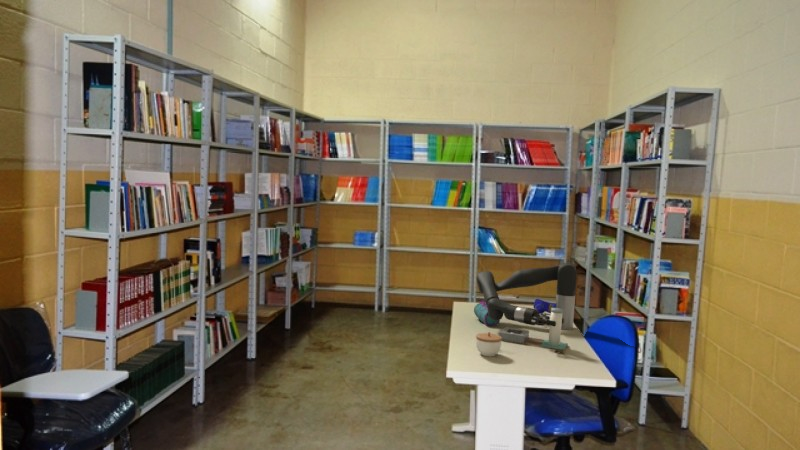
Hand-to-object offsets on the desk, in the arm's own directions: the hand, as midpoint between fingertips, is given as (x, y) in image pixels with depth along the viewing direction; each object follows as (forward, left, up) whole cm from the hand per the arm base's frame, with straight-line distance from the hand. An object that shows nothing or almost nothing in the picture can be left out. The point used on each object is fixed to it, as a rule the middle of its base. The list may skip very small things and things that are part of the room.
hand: (559, 322), depth 253 cm
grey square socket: (0, -20, -11) cm, 23 cm away
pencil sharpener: (-46, -14, -12) cm, 50 cm away
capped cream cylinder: (0, -2, -10) cm, 11 cm away
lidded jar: (+26, -25, -12) cm, 38 cm away
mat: (0, -2, -11) cm, 11 cm away
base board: (0, -12, -12) cm, 17 cm away
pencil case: (-27, -41, -12) cm, 50 cm away
